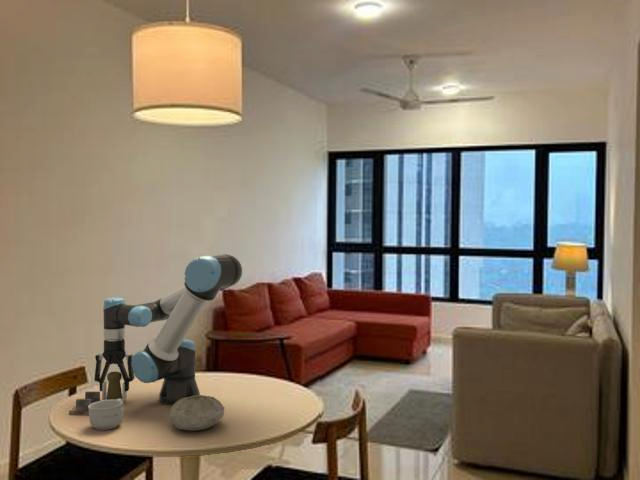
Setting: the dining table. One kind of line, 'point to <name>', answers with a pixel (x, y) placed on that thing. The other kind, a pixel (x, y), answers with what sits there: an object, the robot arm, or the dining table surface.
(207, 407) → the grey stone
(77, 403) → the stand
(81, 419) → the dining table surface
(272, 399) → the dining table surface
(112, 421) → the teacup
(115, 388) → the cork
